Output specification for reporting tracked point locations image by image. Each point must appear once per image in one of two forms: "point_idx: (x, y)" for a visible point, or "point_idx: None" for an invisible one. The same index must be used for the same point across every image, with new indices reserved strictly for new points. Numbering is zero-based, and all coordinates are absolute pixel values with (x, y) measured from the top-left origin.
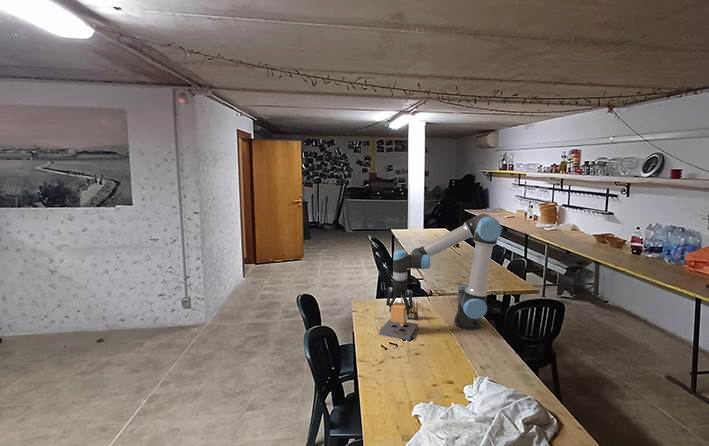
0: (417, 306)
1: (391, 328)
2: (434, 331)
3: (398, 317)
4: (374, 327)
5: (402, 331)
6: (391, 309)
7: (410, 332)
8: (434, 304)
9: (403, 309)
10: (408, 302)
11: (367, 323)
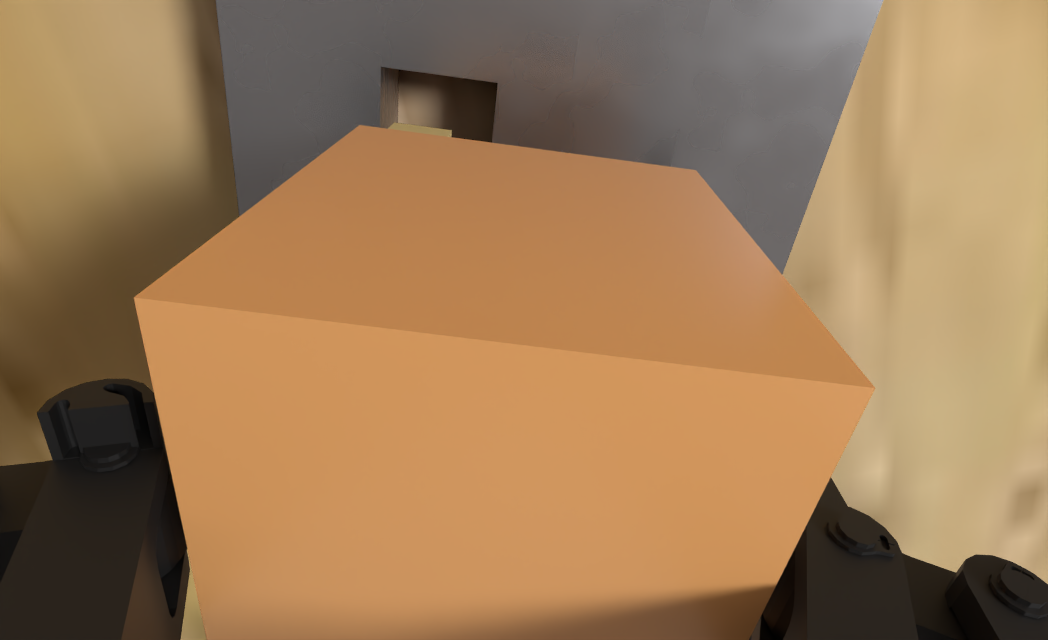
0: None
1: (643, 148)
2: (47, 341)
3: (480, 176)
4: (924, 250)
5: (413, 68)
6: (785, 316)
7: (257, 69)
8: None
9: (169, 282)
10: None
11: (1027, 354)
